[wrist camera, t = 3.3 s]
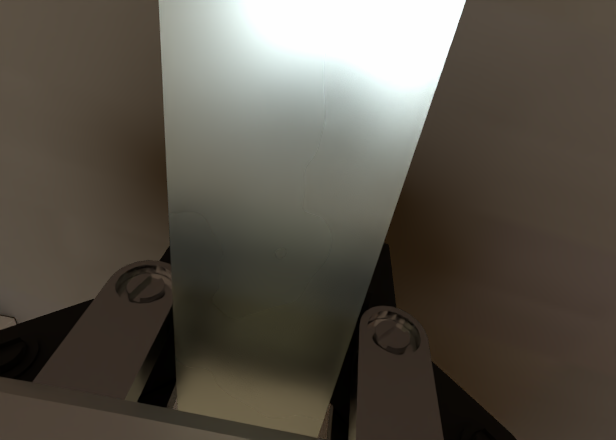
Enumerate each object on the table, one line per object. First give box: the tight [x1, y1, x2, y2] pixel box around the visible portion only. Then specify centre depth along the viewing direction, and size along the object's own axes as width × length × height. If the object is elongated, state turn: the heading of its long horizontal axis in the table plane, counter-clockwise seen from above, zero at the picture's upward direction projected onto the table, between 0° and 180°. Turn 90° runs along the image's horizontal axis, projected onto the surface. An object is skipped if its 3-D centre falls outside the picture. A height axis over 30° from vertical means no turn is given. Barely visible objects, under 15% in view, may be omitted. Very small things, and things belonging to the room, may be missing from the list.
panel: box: [159, 0, 466, 438], centre depth 9 cm, size 14×2×6 cm, turn 171°
